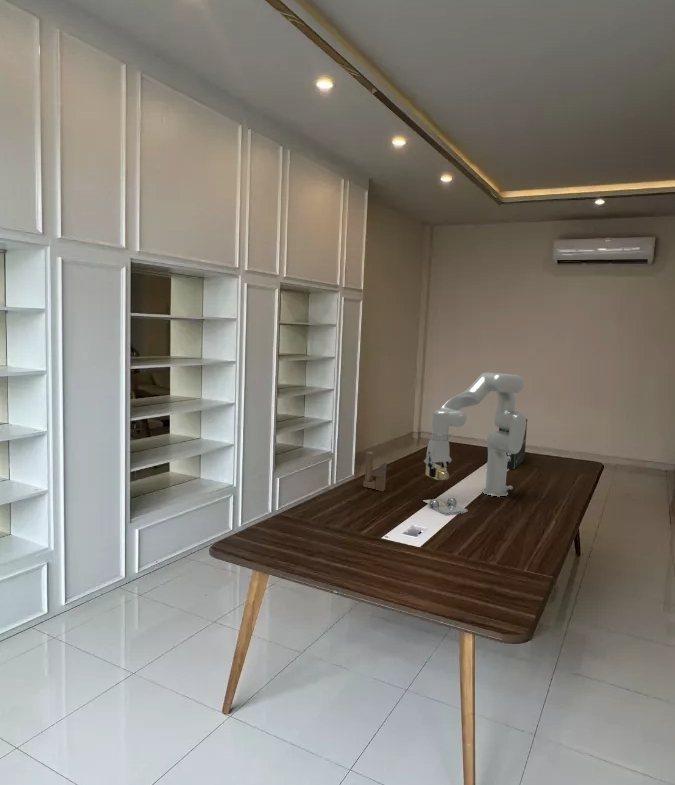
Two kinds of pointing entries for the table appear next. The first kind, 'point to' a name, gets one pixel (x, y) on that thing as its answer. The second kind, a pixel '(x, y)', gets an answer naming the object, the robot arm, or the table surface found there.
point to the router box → (518, 457)
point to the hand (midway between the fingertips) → (436, 475)
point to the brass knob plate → (438, 472)
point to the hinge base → (447, 507)
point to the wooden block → (374, 474)
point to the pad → (438, 501)
